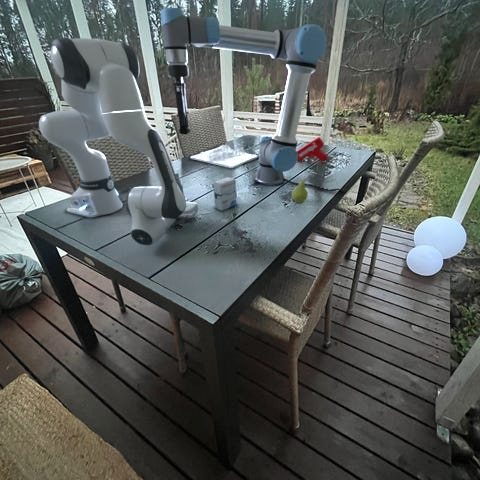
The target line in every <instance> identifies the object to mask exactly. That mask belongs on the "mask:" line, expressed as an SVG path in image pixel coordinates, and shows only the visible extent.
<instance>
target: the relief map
mask: <svg viewBox="0 0 480 480" xmlns="http://www.w3.org/2000/svg"><path fill="white" fill-rule="evenodd" d="M258 157H259V155H256V154H252V153H247V152H246V151H245V150H244V148H238V149H233V148H231V147H230V146H229V145H228V144H222V145H219V147H215V148H213V149H210V150H206V151H201V152H200V153H198V154H194V155H191V156H190V159H191V160H196V161H199V162H203V163H207V164H212V165H215V166H221V167H224V168H229V169H235V168H237V167H239V166H241V165H244V164H246V163H250V162H251V161H253V160H256V159H258Z"/></svg>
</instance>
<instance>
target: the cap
mask: <svg viewBox="0 0 480 480" xmlns="http://www.w3.org/2000/svg"><path fill="white" fill-rule="evenodd" d="M187 130H188V134H190V133H191V127H187ZM178 133H179V134H181V131H180V127H178Z"/></svg>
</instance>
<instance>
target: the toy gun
mask: <svg viewBox="0 0 480 480" xmlns="http://www.w3.org/2000/svg"><path fill="white" fill-rule="evenodd" d="M324 145H325V143H324V141H323V140H322V138H321V137H320V136H317V137H316V138H314V139H313V140H311V141H310V142H308V143H306V144H305V145H303V146H302V147H301V148H299V149H298V150H296V151H297V154H298V160H297V162H301V161H302V160H304V159H306V158H309V160H310V159H314V158H317V159H318V160H319V161H321V162H320V163H321V164H324V162H322V161H325V160H326V162H328V158H329V155H328V154H327V153H325V152H324V151H323V150H322V148H323V147H324Z"/></svg>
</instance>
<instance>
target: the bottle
mask: <svg viewBox="0 0 480 480" xmlns="http://www.w3.org/2000/svg"><path fill="white" fill-rule="evenodd" d="M174 172H175V175H176V178H177V181H178V183H179V186H180V188H181V189H182V191H183V192H184V185H183V182H182V179H181V178H180V175H179V174H180V172H179V171H176V170H174Z"/></svg>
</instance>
